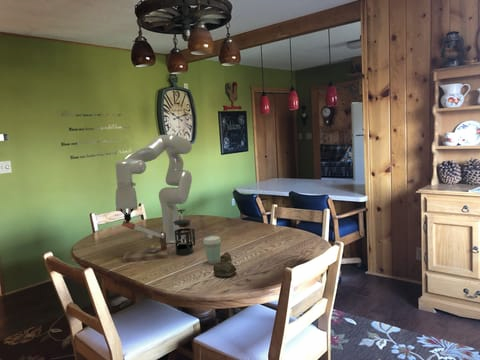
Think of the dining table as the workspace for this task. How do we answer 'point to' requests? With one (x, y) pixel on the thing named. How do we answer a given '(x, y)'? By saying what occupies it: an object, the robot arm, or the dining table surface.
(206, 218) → the dining table surface
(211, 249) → the coffee cup
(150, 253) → the base
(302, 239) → the dining table surface
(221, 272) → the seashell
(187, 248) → the french press
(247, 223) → the dining table surface
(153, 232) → the lever
